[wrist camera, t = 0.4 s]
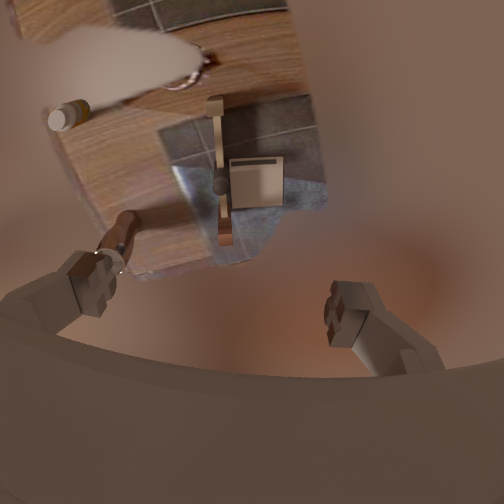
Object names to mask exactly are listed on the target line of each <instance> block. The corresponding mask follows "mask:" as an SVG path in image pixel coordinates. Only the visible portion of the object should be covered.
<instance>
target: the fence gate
mask: <svg viewBox="0 0 504 504" xmlns="http://www.w3.org/2000/svg"><path fill="white" fill-rule="evenodd" d="M219 197H220V205H219V209H218V238H219V246H230V245H233V239H232V225H231V210H230V204H227V196H226V194H225V195H223V196H219Z"/></svg>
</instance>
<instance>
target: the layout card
mask: <svg viewBox="0 0 504 504" xmlns="http://www.w3.org/2000/svg"><path fill="white" fill-rule="evenodd" d="M229 169H230V183H231V198H232V209H235V208H249V207H264V206H280V205H282V204H283V156H279V157H255V158H239V159H229Z"/></svg>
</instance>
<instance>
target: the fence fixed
mask: <svg viewBox="0 0 504 504" xmlns="http://www.w3.org/2000/svg"><path fill="white" fill-rule="evenodd" d="M206 108H207V117H213V121H214V135H215V148H216V162H215V166H214V178H213V192H214V193H215V194H216V195H219V196H223V195H225V194H227V193H228V191H229V178H228V163H227V161H226V160H225V159H224V155H223V140H222V125H221V116H224V105H223V95H222V96H210V97H209V98H208V100H207V101H206Z"/></svg>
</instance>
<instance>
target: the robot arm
mask: <svg viewBox="0 0 504 504" xmlns="http://www.w3.org/2000/svg"><path fill="white" fill-rule="evenodd" d="M112 267H113V261H112V257H111V256H109V255H106V254H100V253H93V252H87V251H75V252H74V253H73V254H72V255H71V256H70V257H69V258H68V259H67V261H66V262H65V263H64V264H63V265H62V266H61V267H60V268H59V269H58V270H57V272H52V273H49V274H47V275H45V276H43V277H41V278H38V279H37V280H34V281H32V282H30V283H28V284H26V285H24V286H21V287H19V288H17V289H15V290H13V291H11V292H9V293H8V294H6V296H5V297H4V298H3V299H2V300H1V301H0V504H504V358H503V359H499V360H495V361H490V362H486V363H481V364H476V365H471V366H465V367H459V368H454V369H447V370H446V369H445V367H444V365H443V362H442V360H441V358H440V356H439V354H438V351H437V349H436V347H435V346H434V345H432V344H431V343H430V342H429V341H427V340H426V339H425V338H424V337H422V336H421V335H420V334H419V333H417V332H416V331H415V330H414V329H412V328H411V327H410V326H408V325H407V324H406V323H405V322H403V321H402V320H401V319H399V318H398V317H397V316H395V315H394V314H393V313H392V312H390V311H386V308H385V306H384V304H383V302H382V300H381V298H380V295H379V294H378V291H377V289H376V287H375V285H374V284H373V283H370V282H348V281H335V280H334V281H333V283H332V285H331V288H330V292H331V296H330V297H329V298H328V299H327V300H326V303H325V308H324V322H325V325H327V326H328V327H329V329H328V331H327V337H328V341H329V346H330V347H341V348H352V350H353V351H354V353H355V354H356V355H357V356H358V357H359V358H360V360H361V361H362V362H363V363H364V364H365V366H366V367H367V368H368V369H369V370H370V372H371V373H372V374H373V375H374V376H375V377H356V378H355V377H354V378H302V377H280V376H265V375H252V374H242V373H232V372H223V371H215V370H207V369H200V368H193V367H187V366H181V365H174V364H169V363H164V362H158V361H153V360H148V359H144V358H139V357H134V356H130V355H125V354H121V353H117V352H113V351H109V350H105V349H101V348H98V347H94V346H90V345H87V344H83V343H80V342H77V341H73V340H70V339H66V338H64V337H60V336H58V335H55V334H57V333H58V332H59V331H61V330H62V329H63V328H65V327H66V326H68V325H69V324H70V323H72V322H73V321H74V320H76V319H77V318H79V317H80V316H81V315H82V314H84V315H88V316H93V317H98V318H100V317H101V315H102V314H103V312H104V310H105V309H106V307H107V305H106V301H108V300H110V299H111V298H112V297H113V295H114V294H115V290H116V276H115V274H114V273H113V271H112V270H111V268H112Z"/></svg>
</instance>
